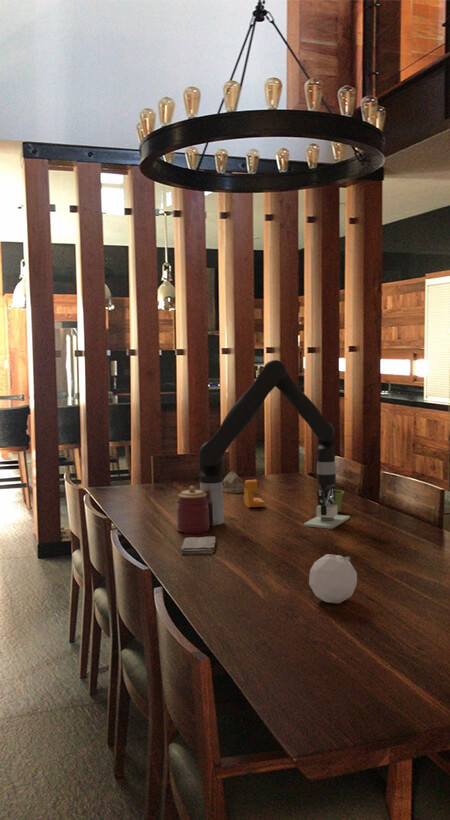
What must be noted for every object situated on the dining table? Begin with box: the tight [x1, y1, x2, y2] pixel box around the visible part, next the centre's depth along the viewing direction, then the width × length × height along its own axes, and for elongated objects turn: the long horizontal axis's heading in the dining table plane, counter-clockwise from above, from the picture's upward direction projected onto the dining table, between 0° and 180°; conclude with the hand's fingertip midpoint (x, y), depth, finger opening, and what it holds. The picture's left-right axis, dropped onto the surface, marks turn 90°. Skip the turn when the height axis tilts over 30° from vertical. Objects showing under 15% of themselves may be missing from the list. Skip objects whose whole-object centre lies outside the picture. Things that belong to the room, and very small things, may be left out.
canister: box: [175, 485, 211, 534], centre depth 301 cm, size 13×13×18 cm
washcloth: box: [180, 536, 217, 555], centre depth 275 cm, size 12×18×3 cm, turn 179°
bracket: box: [243, 479, 265, 509], centre depth 344 cm, size 11×7×12 cm, turn 11°
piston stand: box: [303, 502, 351, 530], centre depth 309 cm, size 20×12×8 cm, turn 150°
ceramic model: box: [223, 470, 245, 494], centre depth 382 cm, size 14×11×10 cm
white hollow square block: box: [315, 505, 338, 518], centre depth 309 cm, size 6×6×4 cm
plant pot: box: [333, 489, 345, 513], centre depth 328 cm, size 9×9×9 cm
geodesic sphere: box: [308, 553, 358, 604], centre depth 213 cm, size 14×14×14 cm
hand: (327, 513), depth 309 cm, fingers closed on white hollow square block, 6 cm apart
